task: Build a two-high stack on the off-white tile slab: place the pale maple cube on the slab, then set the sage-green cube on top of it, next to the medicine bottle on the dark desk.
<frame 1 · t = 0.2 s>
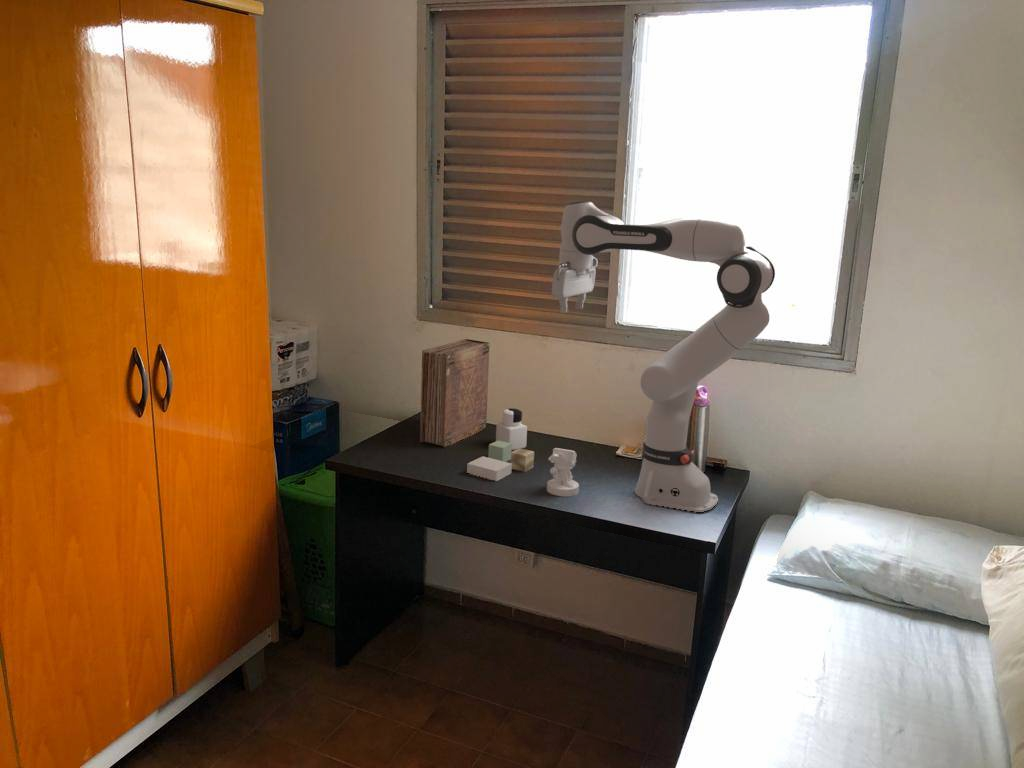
hand: (571, 310, 228), 47 cm above the table, tool pointing down, fingers open, 8 cm apart
book: (453, 436, 266), on the table
sage cube: (499, 459, 246), on the table
tile slab: (489, 473, 234), on the table
maple cube: (521, 468, 240), on the table
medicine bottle: (510, 446, 259), on the table
character figurine: (563, 490, 224), on the table
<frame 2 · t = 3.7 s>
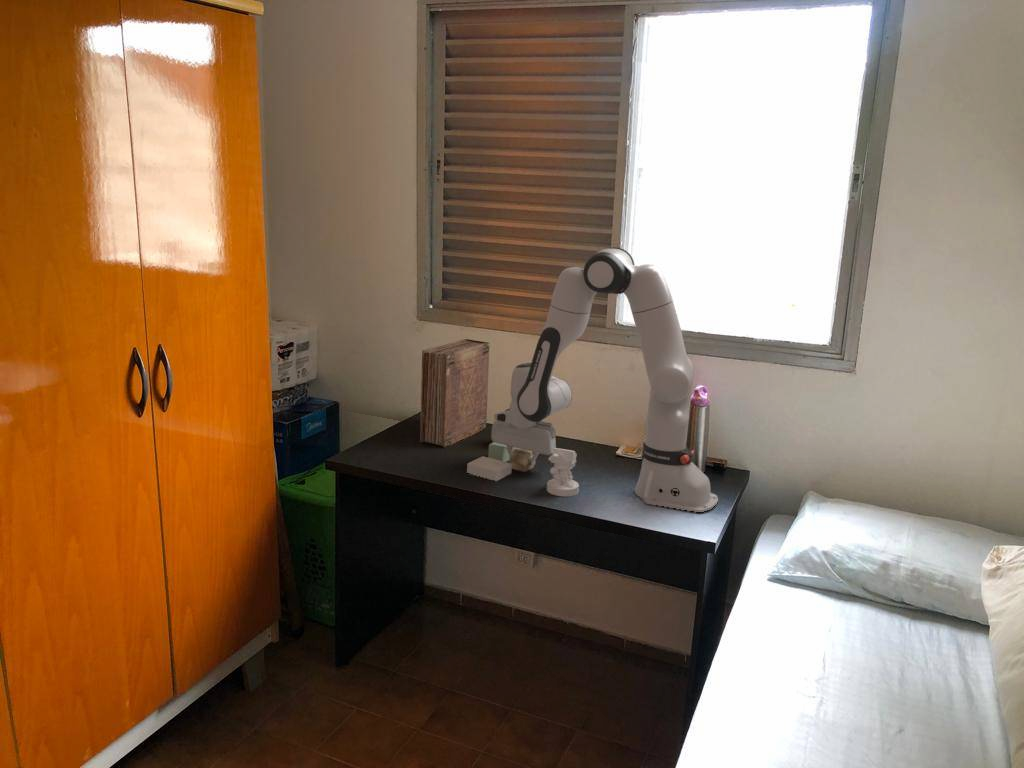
hand: (522, 462, 239), 2 cm above the table, tool pointing down, fingers closed on maple cube, 5 cm apart
maple cube: (521, 467, 240), on the table, touching gripper
everything else where it was.
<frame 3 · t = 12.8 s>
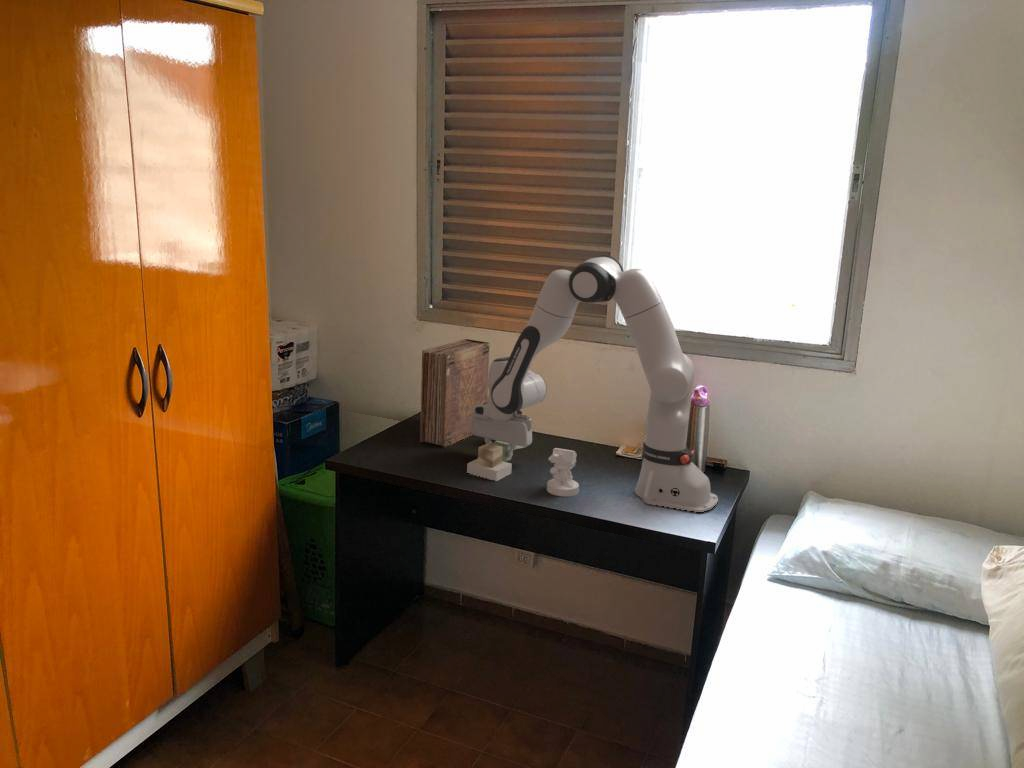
hand: (499, 454, 246), 2 cm above the table, tool pointing down, fingers closed on sage cube, 5 cm apart
sage cube: (499, 459, 246), on the table, touching gripper
maple cube: (489, 463, 233), point 3 cm above the table, touching tile slab
everything else where it was.
when the fingers open (11 cm above the table, at t = 17.6 s): sage cube stays where it is, resting on maple cube.
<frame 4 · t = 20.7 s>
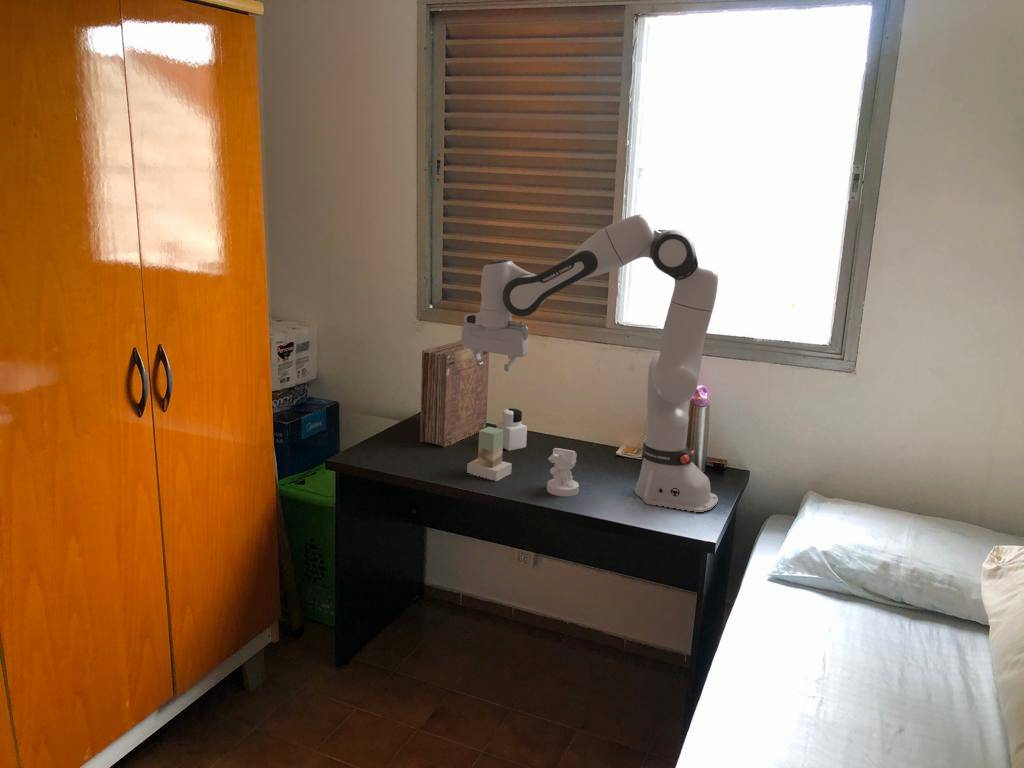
hand: (493, 368, 226), 31 cm above the table, tool pointing down, fingers open, 8 cm apart
sage cube: (490, 447, 232), point 8 cm above the table, touching maple cube
maple cube: (489, 463, 233), point 3 cm above the table, touching sage cube, tile slab
everything else where it was.
at the end: maple cube 0.1 cm off-centre on the tile slab, point 3.0 cm above the tile slab's base; sage cube 0.0 cm off-centre on the maple cube, point 5.0 cm above the maple cube's base; the gripper is holding nothing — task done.
